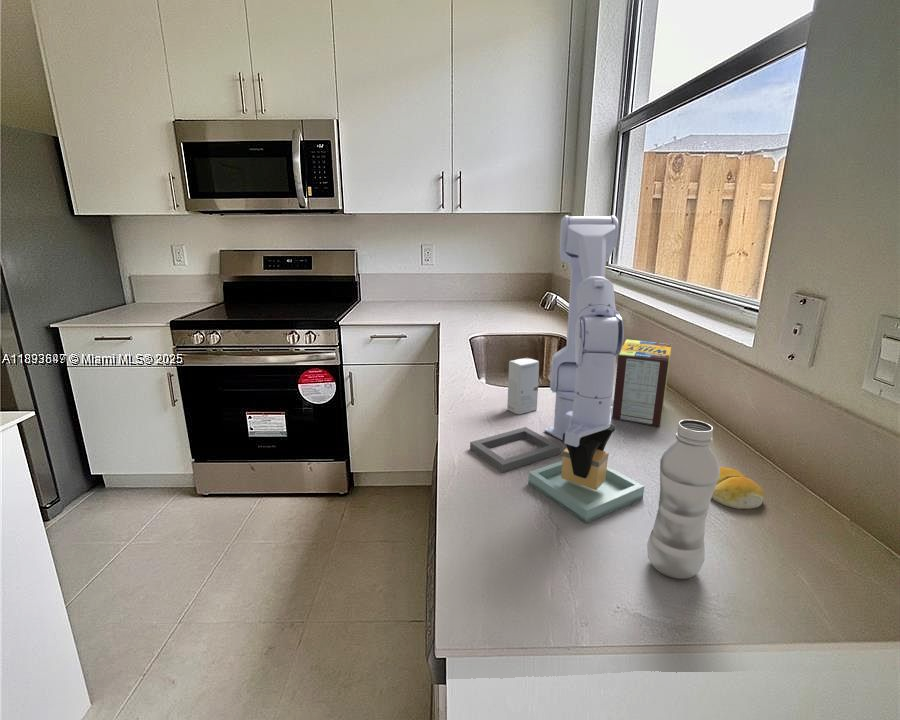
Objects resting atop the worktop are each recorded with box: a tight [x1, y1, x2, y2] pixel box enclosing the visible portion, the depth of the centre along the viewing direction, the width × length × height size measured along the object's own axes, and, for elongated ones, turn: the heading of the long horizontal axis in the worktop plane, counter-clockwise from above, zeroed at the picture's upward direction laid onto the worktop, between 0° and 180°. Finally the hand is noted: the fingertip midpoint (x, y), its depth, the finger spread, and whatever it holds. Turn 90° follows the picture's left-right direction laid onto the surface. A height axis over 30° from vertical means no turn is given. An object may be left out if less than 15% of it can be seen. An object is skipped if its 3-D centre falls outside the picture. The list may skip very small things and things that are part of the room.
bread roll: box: [711, 466, 765, 510], centre depth 77 cm, size 8×9×4 cm
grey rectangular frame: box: [469, 426, 562, 473], centre depth 92 cm, size 14×10×2 cm
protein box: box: [611, 339, 672, 428], centre depth 109 cm, size 10×15×16 cm
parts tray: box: [528, 460, 645, 524], centre depth 78 cm, size 13×13×2 cm
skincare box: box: [506, 357, 540, 416], centre depth 111 cm, size 6×4×12 cm
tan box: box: [561, 447, 610, 490], centre depth 77 cm, size 4×6×5 cm
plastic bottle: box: [646, 419, 721, 580], centre depth 58 cm, size 6×7×20 cm
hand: (585, 470), depth 77 cm, fingers closed on tan box, 4 cm apart
